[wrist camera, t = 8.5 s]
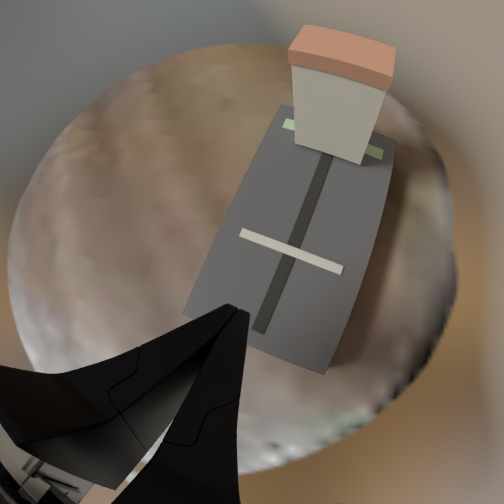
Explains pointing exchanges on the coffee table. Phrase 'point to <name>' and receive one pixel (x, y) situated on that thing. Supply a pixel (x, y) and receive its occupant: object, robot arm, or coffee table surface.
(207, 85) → the coffee table surface
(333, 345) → the plate
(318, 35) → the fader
